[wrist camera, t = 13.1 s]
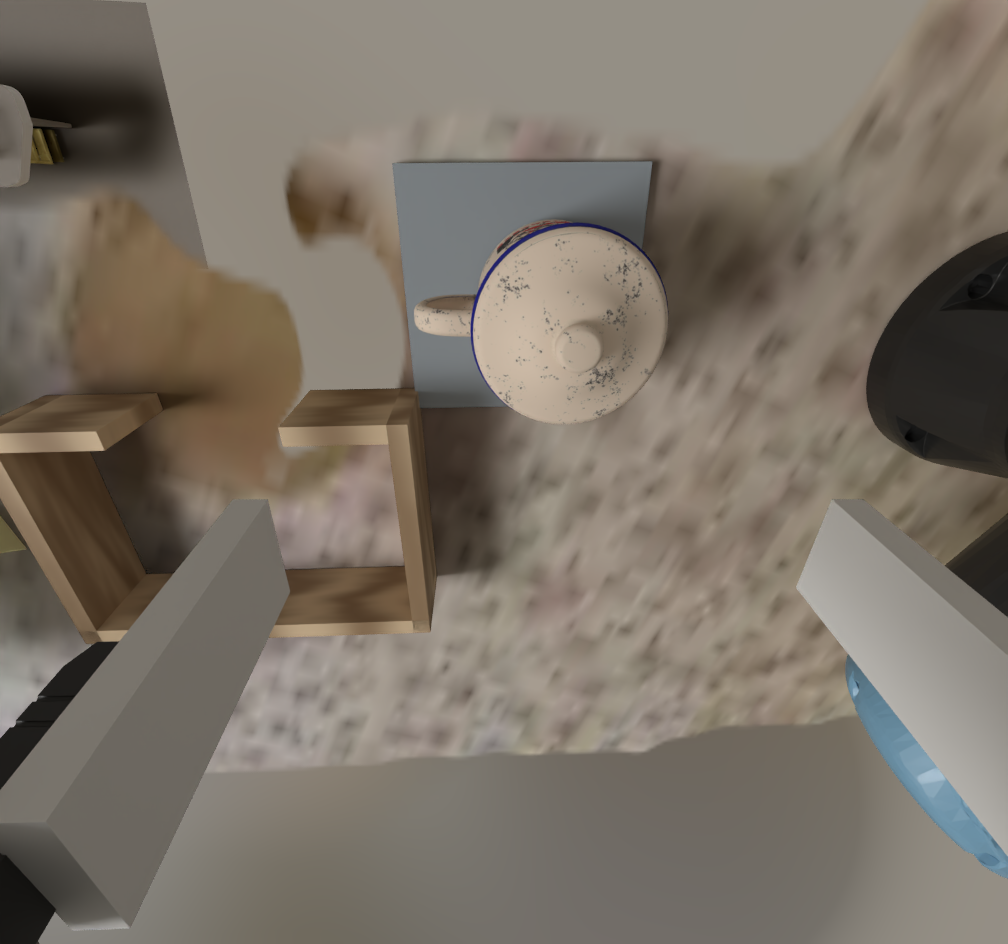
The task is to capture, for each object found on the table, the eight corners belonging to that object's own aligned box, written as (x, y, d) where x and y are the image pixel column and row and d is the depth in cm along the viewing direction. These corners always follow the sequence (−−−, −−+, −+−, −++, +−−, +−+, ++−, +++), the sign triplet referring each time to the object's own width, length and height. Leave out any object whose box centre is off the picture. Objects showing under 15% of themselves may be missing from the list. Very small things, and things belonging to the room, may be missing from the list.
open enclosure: (419, 388, 34) (407, 424, 28) (436, 576, 42) (430, 632, 36) (44, 395, 33) (-38, 434, 28) (136, 585, 41) (85, 643, 36)
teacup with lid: (633, 216, 28) (717, 230, 18) (613, 371, 33) (671, 452, 23) (420, 211, 28) (385, 222, 18) (428, 369, 32) (404, 451, 22)
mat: (649, 161, 28) (652, 161, 27) (621, 400, 35) (624, 403, 34) (394, 163, 27) (392, 163, 27) (417, 404, 34) (416, 408, 34)
